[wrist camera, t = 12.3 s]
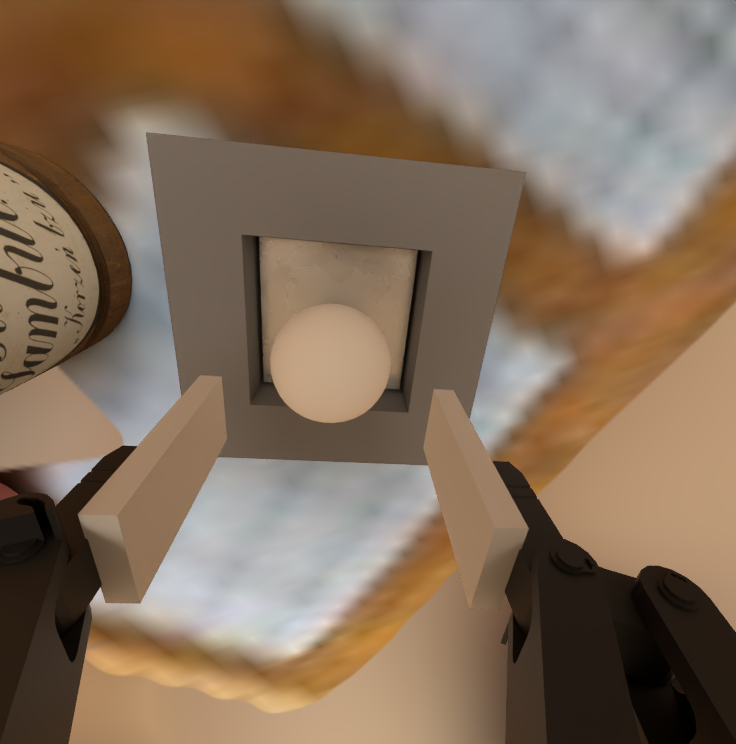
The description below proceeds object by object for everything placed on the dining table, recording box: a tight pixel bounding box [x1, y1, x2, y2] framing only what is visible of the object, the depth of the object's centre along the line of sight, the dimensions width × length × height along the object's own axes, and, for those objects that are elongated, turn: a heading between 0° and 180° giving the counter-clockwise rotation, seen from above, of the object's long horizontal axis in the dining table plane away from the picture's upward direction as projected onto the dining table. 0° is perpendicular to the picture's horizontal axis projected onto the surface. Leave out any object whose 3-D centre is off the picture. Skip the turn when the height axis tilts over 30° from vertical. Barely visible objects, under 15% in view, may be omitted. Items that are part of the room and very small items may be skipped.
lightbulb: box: [270, 303, 391, 423], centre depth 21 cm, size 6×6×11 cm
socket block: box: [146, 132, 526, 465], centre depth 27 cm, size 20×20×7 cm
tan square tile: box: [259, 236, 418, 389], centre depth 28 cm, size 10×10×3 cm
